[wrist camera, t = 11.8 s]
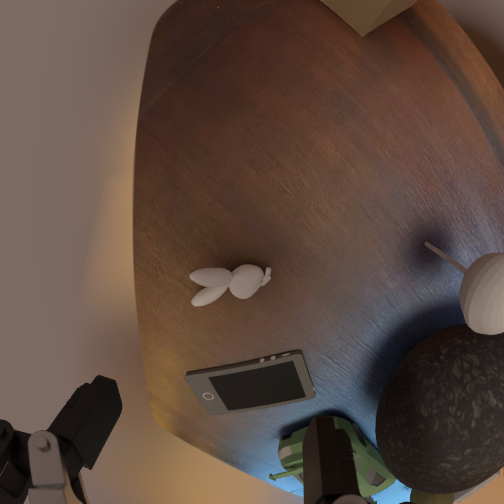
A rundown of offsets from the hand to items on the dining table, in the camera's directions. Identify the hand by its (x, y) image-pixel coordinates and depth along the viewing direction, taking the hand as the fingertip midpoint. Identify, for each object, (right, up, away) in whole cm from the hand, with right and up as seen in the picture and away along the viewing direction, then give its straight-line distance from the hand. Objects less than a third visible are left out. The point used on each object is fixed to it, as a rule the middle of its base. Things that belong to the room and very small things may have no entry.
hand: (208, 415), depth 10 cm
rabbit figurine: (-1, +4, +19) cm, 20 cm away
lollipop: (+20, +7, +16) cm, 27 cm away
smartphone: (+2, -10, +24) cm, 26 cm away
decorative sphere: (+25, -8, +21) cm, 34 cm away
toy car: (+18, -28, +29) cm, 44 cm away
